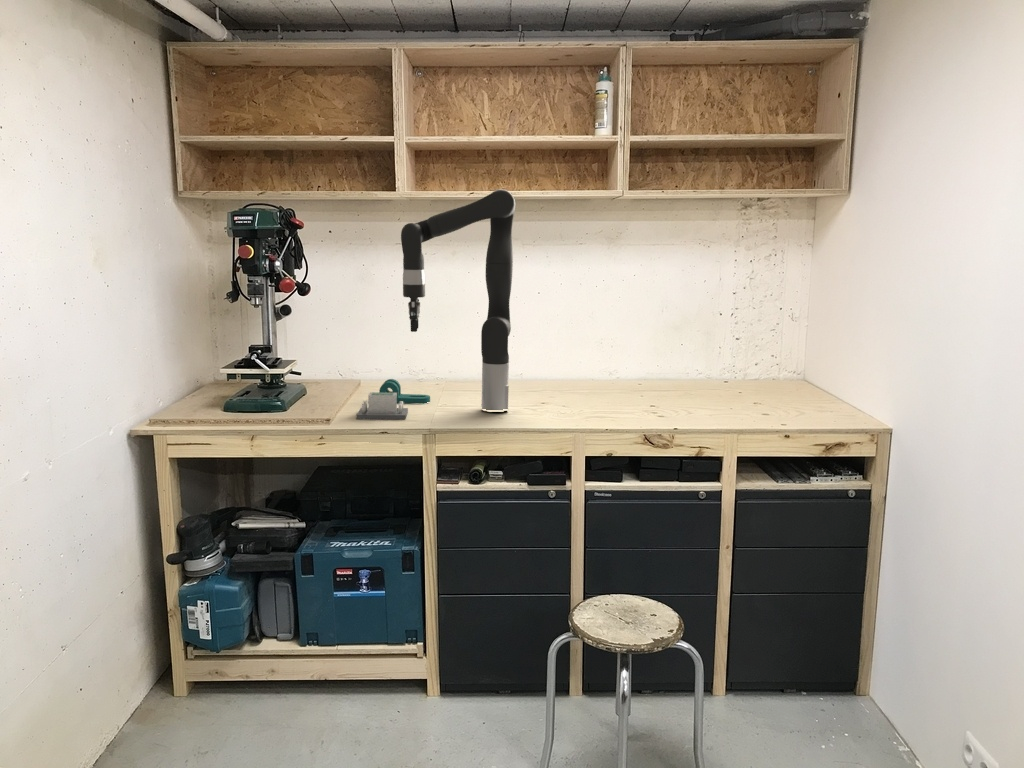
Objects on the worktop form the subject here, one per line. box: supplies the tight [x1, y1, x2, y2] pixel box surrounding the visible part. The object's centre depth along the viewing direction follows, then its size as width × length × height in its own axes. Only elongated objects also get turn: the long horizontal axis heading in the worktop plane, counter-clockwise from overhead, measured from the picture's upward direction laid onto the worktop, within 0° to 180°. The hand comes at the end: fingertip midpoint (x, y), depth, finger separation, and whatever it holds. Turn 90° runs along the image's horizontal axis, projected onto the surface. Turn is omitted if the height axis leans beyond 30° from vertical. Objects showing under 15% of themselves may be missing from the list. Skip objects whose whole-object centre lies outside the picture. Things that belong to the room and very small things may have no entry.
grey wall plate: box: [356, 400, 409, 421], centre depth 230 cm, size 16×10×4 cm, turn 94°
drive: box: [367, 391, 398, 413], centre depth 229 cm, size 9×4×6 cm, turn 95°
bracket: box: [378, 378, 431, 404], centre depth 251 cm, size 18×7×8 cm, turn 91°
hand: (414, 330), depth 238 cm, fingers open, 8 cm apart
